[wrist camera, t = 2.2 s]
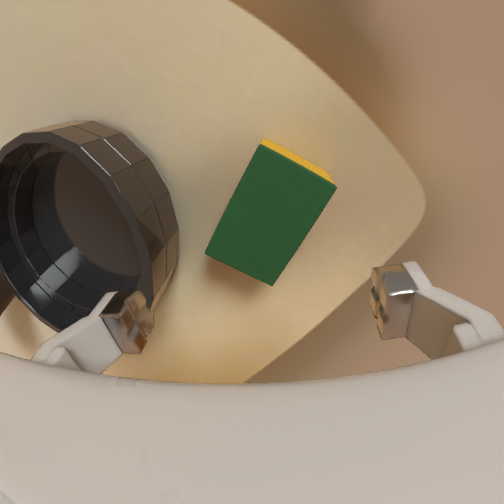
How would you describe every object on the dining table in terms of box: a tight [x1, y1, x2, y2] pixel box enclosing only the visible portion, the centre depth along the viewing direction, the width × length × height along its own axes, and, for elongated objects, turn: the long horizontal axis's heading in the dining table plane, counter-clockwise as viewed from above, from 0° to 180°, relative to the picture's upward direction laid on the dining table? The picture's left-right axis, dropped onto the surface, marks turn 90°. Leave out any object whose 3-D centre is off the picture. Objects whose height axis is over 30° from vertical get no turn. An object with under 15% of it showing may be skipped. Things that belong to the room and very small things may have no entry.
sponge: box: [205, 138, 337, 286], centre depth 17 cm, size 7×4×4 cm, turn 153°
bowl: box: [0, 121, 178, 333], centre depth 18 cm, size 16×16×6 cm
